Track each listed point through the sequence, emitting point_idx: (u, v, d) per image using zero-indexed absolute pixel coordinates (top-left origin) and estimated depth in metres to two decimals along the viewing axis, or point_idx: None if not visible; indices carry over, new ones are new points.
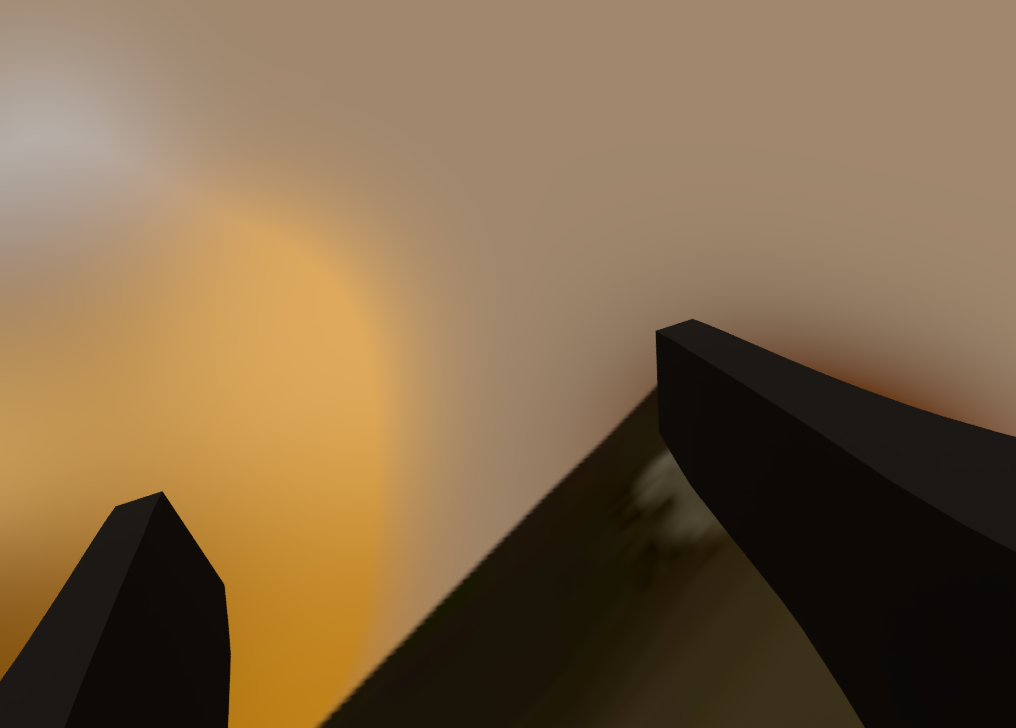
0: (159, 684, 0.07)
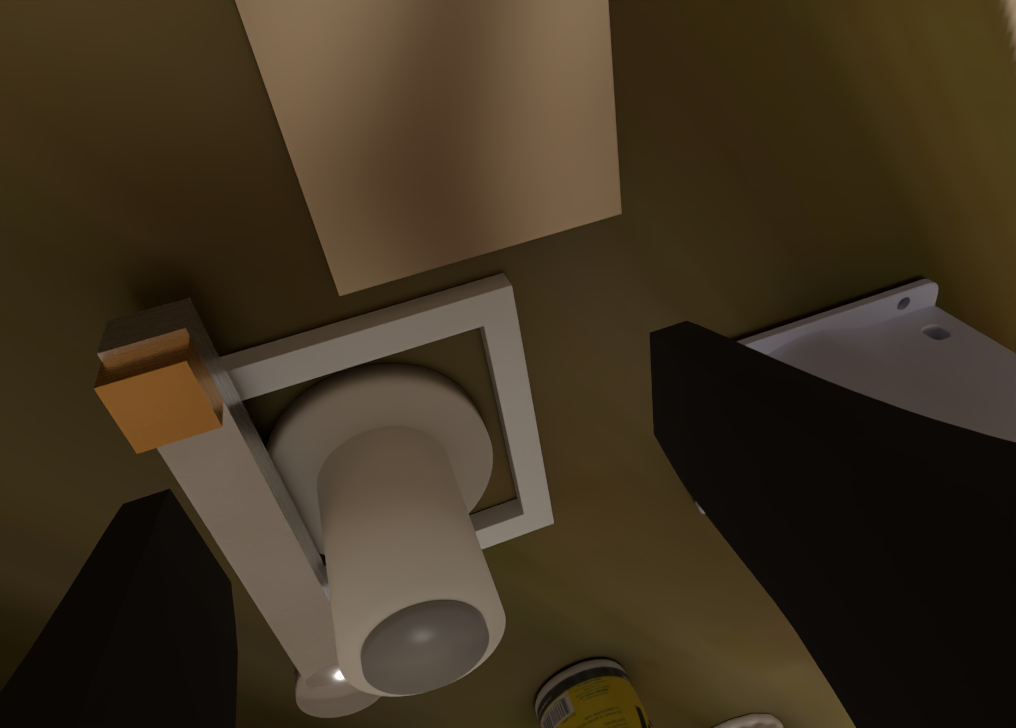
0: (168, 682, 0.07)
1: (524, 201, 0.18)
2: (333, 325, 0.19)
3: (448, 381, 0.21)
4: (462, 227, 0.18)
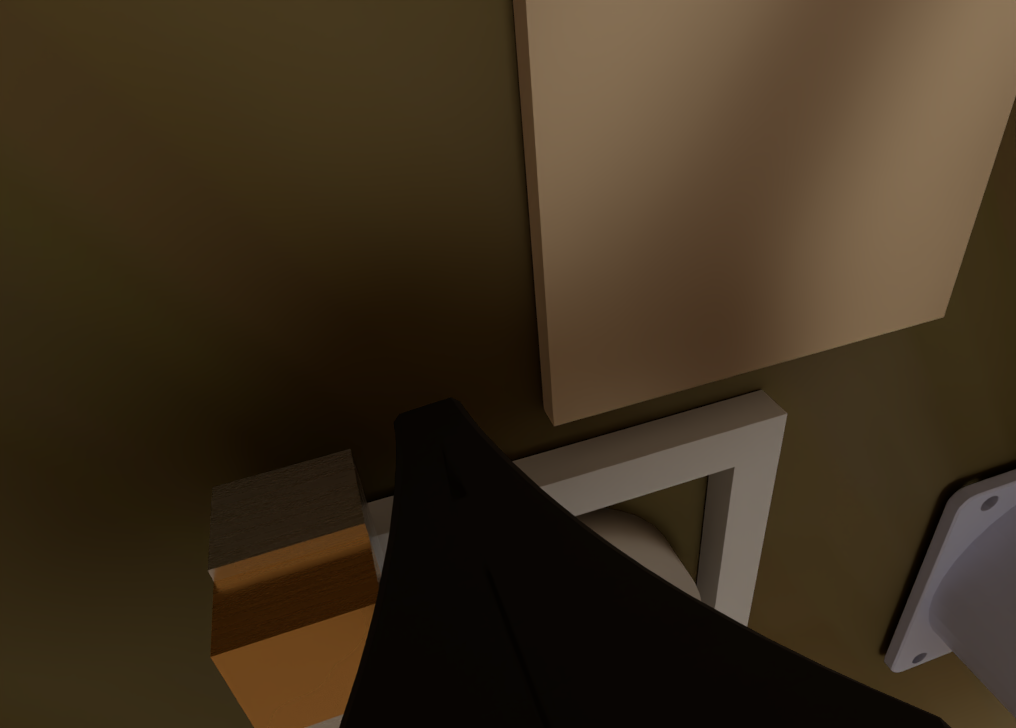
0: None
1: (834, 297, 0.12)
2: (524, 460, 0.13)
3: (655, 531, 0.15)
4: (744, 332, 0.12)
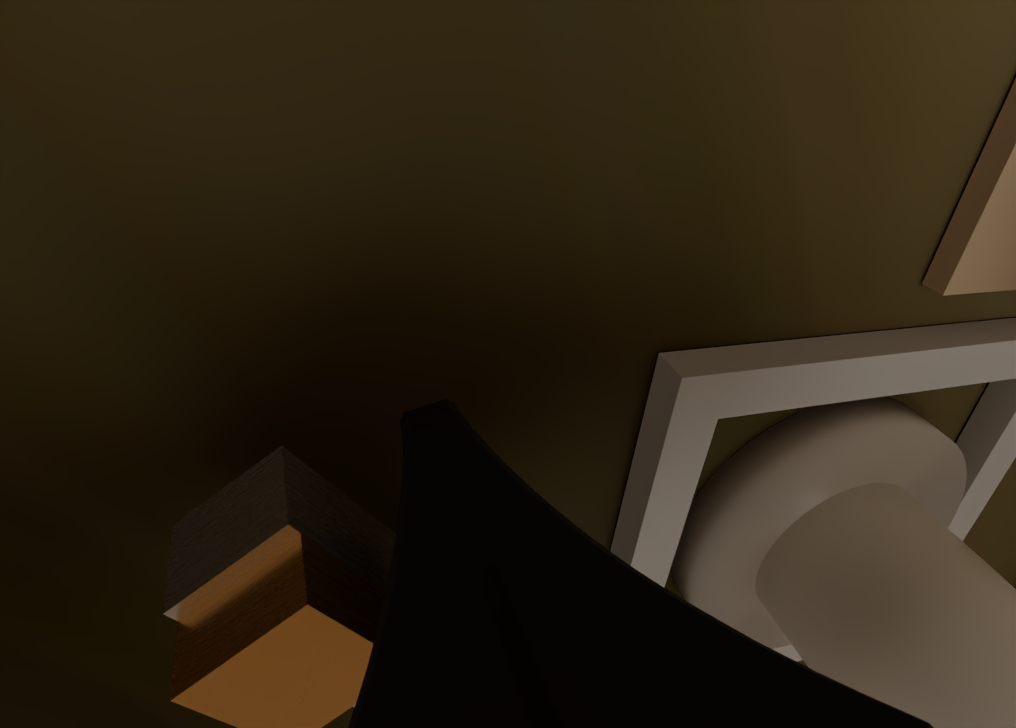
0: None
1: None
2: (882, 333, 0.14)
3: None
4: None
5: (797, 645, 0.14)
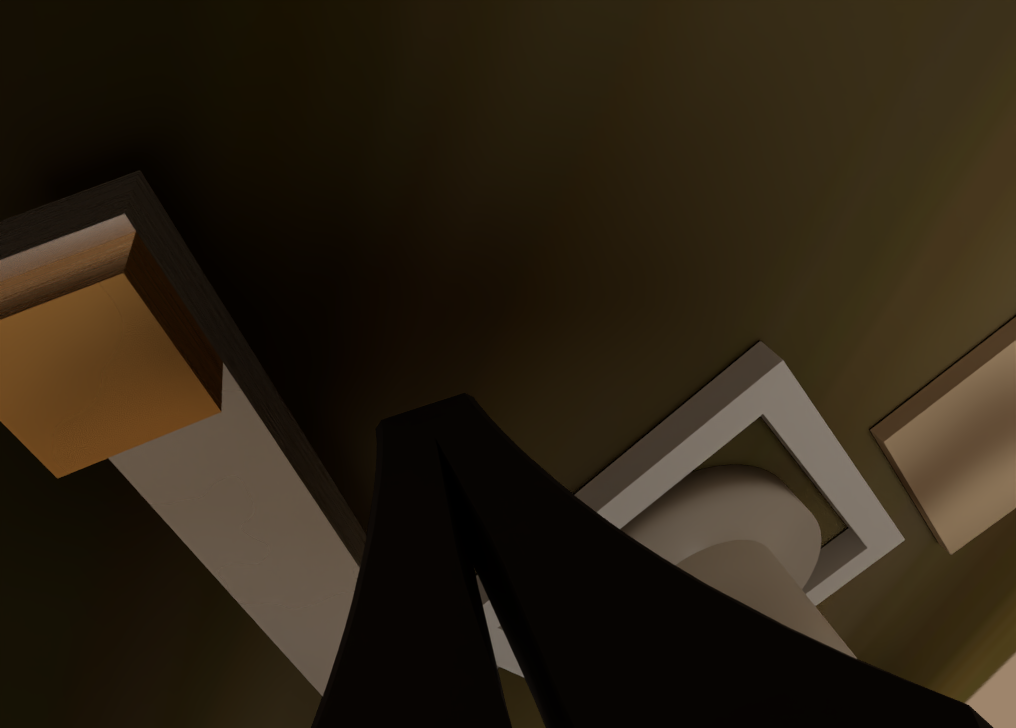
0: (468, 571, 0.08)
1: (963, 499, 0.21)
2: None
3: None
4: (944, 478, 0.20)
5: None
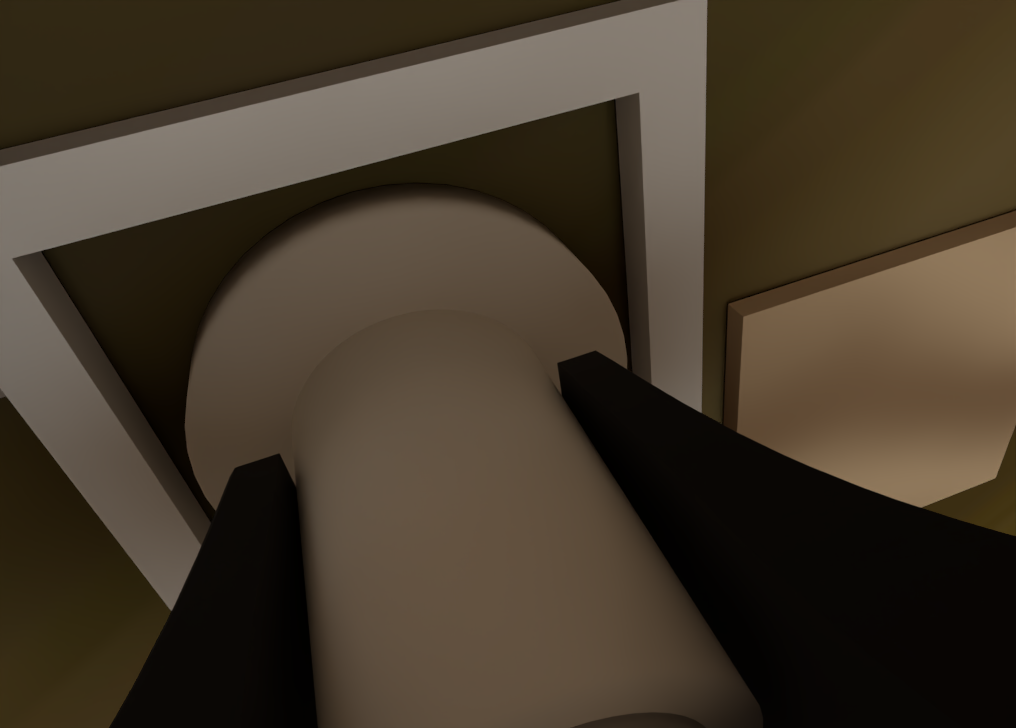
0: (300, 634, 0.08)
1: None
2: None
3: None
4: (774, 442, 0.15)
5: (358, 402, 0.08)
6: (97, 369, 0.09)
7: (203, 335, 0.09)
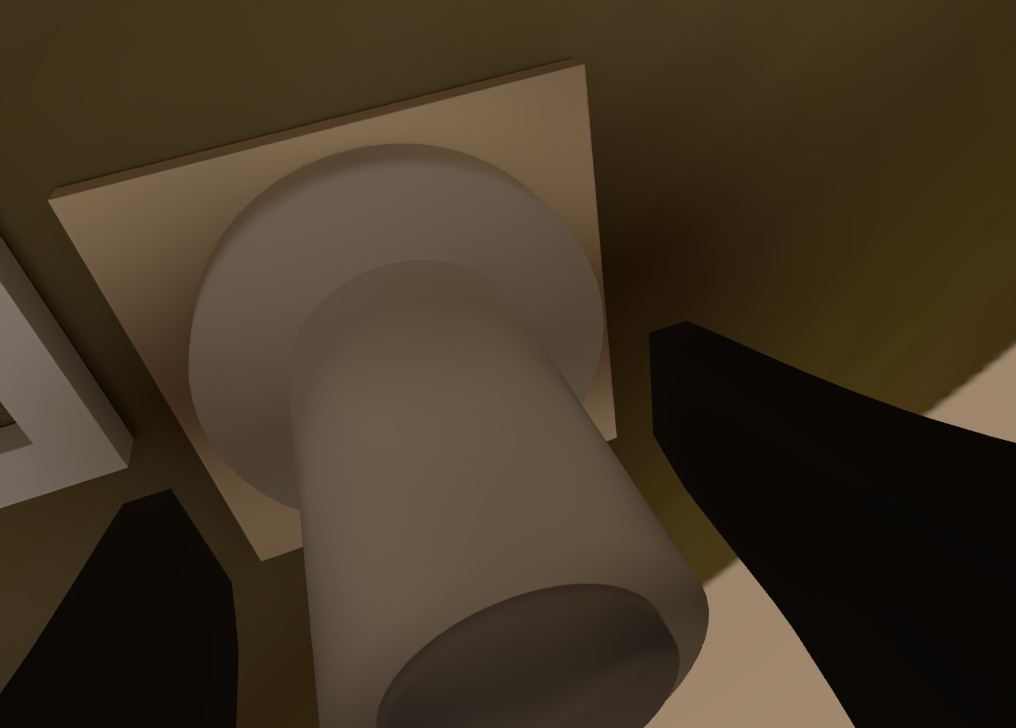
0: (169, 681, 0.07)
1: None
2: None
3: None
4: None
5: (341, 343, 0.09)
6: None
7: (200, 293, 0.10)
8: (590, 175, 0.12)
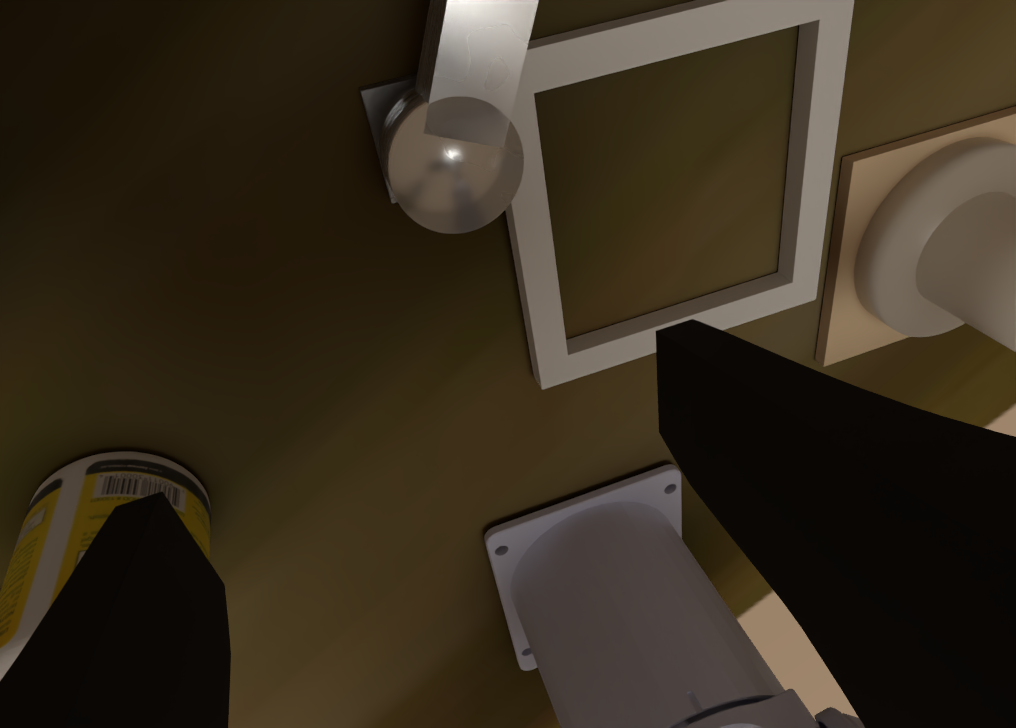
0: (159, 685, 0.07)
1: None
2: None
3: None
4: None
5: (998, 223, 0.21)
6: (538, 163, 0.18)
7: (903, 205, 0.22)
8: None
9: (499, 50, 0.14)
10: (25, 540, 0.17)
